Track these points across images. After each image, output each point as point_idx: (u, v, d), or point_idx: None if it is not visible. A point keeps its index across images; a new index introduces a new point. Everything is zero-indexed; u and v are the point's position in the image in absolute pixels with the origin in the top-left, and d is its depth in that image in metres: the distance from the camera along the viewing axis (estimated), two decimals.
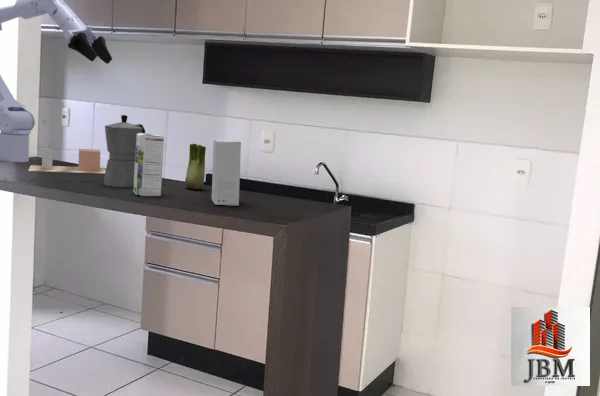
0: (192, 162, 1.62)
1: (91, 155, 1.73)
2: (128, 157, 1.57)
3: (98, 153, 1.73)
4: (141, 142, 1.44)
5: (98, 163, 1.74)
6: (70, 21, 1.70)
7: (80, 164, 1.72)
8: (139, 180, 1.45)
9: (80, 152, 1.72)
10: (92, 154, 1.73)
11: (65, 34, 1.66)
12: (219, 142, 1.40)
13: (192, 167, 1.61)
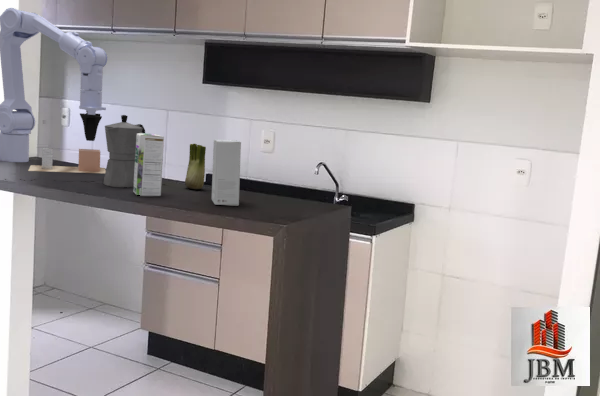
0: (192, 162, 1.62)
1: (91, 155, 1.73)
2: (128, 157, 1.57)
3: (98, 153, 1.73)
4: (141, 142, 1.44)
5: (98, 163, 1.74)
6: (96, 93, 1.71)
7: (80, 164, 1.72)
8: (139, 180, 1.45)
9: (80, 152, 1.72)
10: (92, 154, 1.73)
11: (90, 109, 1.66)
12: (219, 142, 1.40)
13: (192, 167, 1.61)
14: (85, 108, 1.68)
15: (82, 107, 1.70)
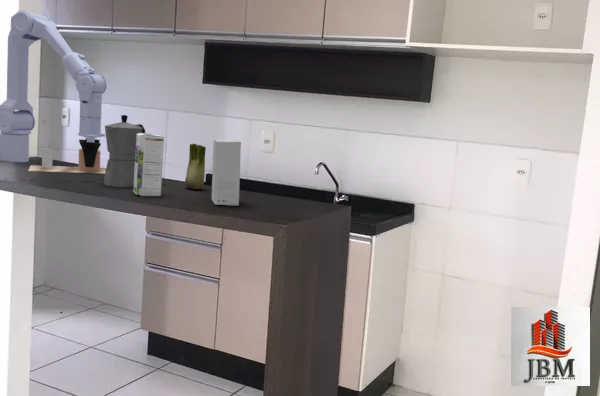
0: (192, 162, 1.62)
1: None
2: (128, 157, 1.57)
3: (98, 153, 1.73)
4: (141, 142, 1.44)
5: (98, 163, 1.74)
6: (96, 121, 1.72)
7: (80, 164, 1.72)
8: (139, 180, 1.45)
9: (80, 152, 1.72)
10: None
11: (89, 136, 1.67)
12: (219, 142, 1.40)
13: (192, 167, 1.61)
14: (84, 135, 1.69)
15: (81, 134, 1.71)
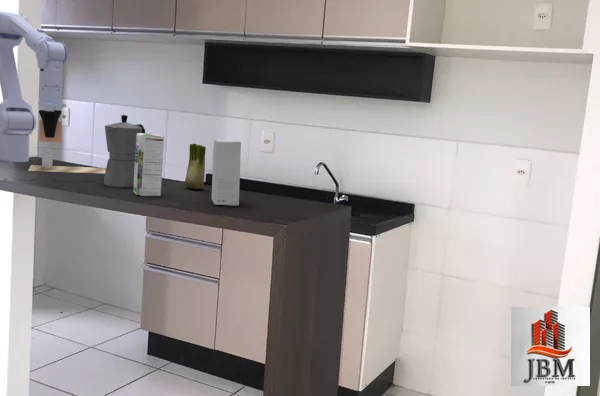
0: (192, 162, 1.62)
1: None
2: (128, 157, 1.57)
3: (59, 123, 1.69)
4: (141, 142, 1.44)
5: (59, 134, 1.69)
6: (56, 90, 1.67)
7: (40, 134, 1.67)
8: (139, 180, 1.45)
9: (40, 122, 1.67)
10: None
11: (48, 105, 1.63)
12: (219, 142, 1.40)
13: (192, 167, 1.61)
14: (44, 104, 1.65)
15: (41, 103, 1.66)
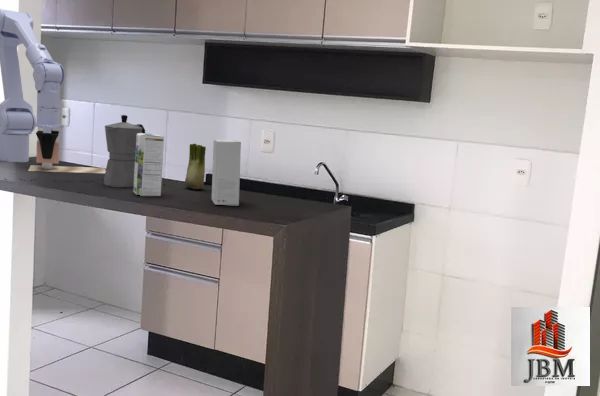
0: (192, 162, 1.62)
1: None
2: (128, 157, 1.57)
3: (57, 144, 1.69)
4: (141, 142, 1.44)
5: (57, 155, 1.70)
6: (53, 111, 1.68)
7: (38, 156, 1.68)
8: (139, 180, 1.45)
9: (38, 143, 1.67)
10: None
11: (45, 127, 1.63)
12: (219, 142, 1.40)
13: (192, 167, 1.61)
14: (41, 126, 1.65)
15: (38, 125, 1.67)
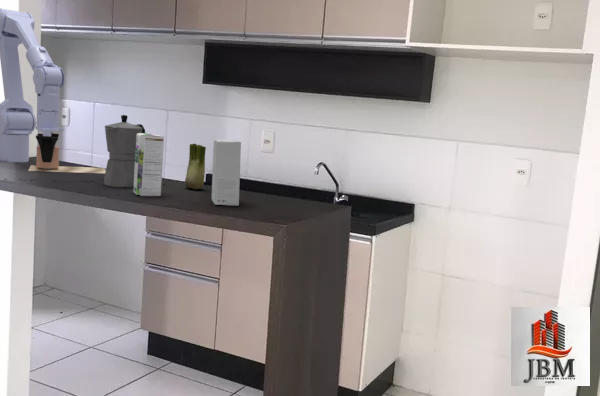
0: (192, 162, 1.62)
1: None
2: (128, 157, 1.57)
3: (56, 149, 1.69)
4: (141, 142, 1.44)
5: (57, 160, 1.70)
6: (53, 114, 1.68)
7: (38, 161, 1.68)
8: (139, 180, 1.45)
9: (38, 148, 1.68)
10: None
11: (45, 130, 1.63)
12: (219, 142, 1.40)
13: (192, 167, 1.61)
14: (41, 129, 1.65)
15: (38, 128, 1.67)
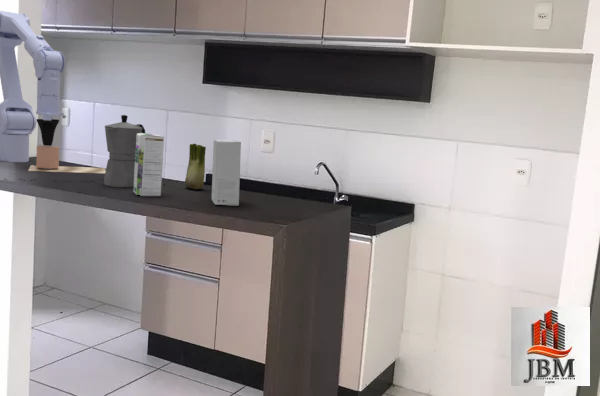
0: (192, 162, 1.62)
1: (49, 151, 1.69)
2: (128, 157, 1.57)
3: (56, 149, 1.69)
4: (141, 142, 1.44)
5: (57, 160, 1.70)
6: (53, 98, 1.67)
7: (38, 161, 1.68)
8: (139, 180, 1.45)
9: (38, 148, 1.68)
10: (50, 150, 1.69)
11: (46, 114, 1.63)
12: (219, 142, 1.40)
13: (192, 167, 1.61)
14: (41, 113, 1.65)
15: (38, 112, 1.66)
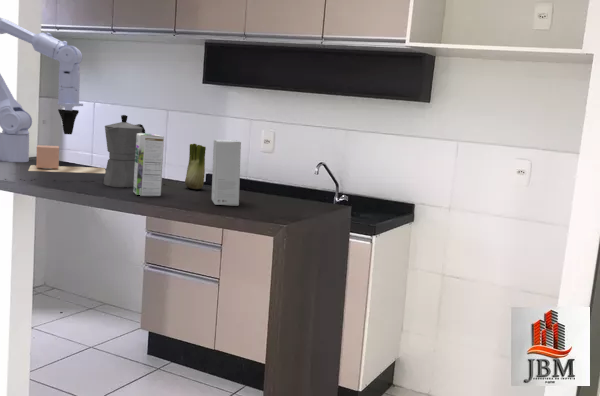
0: (192, 162, 1.62)
1: (49, 151, 1.69)
2: (128, 157, 1.57)
3: (56, 149, 1.69)
4: (141, 142, 1.44)
5: (57, 160, 1.70)
6: (74, 90, 1.80)
7: (38, 161, 1.68)
8: (139, 180, 1.45)
9: (38, 148, 1.68)
10: (50, 150, 1.69)
11: (67, 105, 1.75)
12: (219, 142, 1.40)
13: (192, 167, 1.61)
14: (63, 104, 1.77)
15: (60, 103, 1.79)
